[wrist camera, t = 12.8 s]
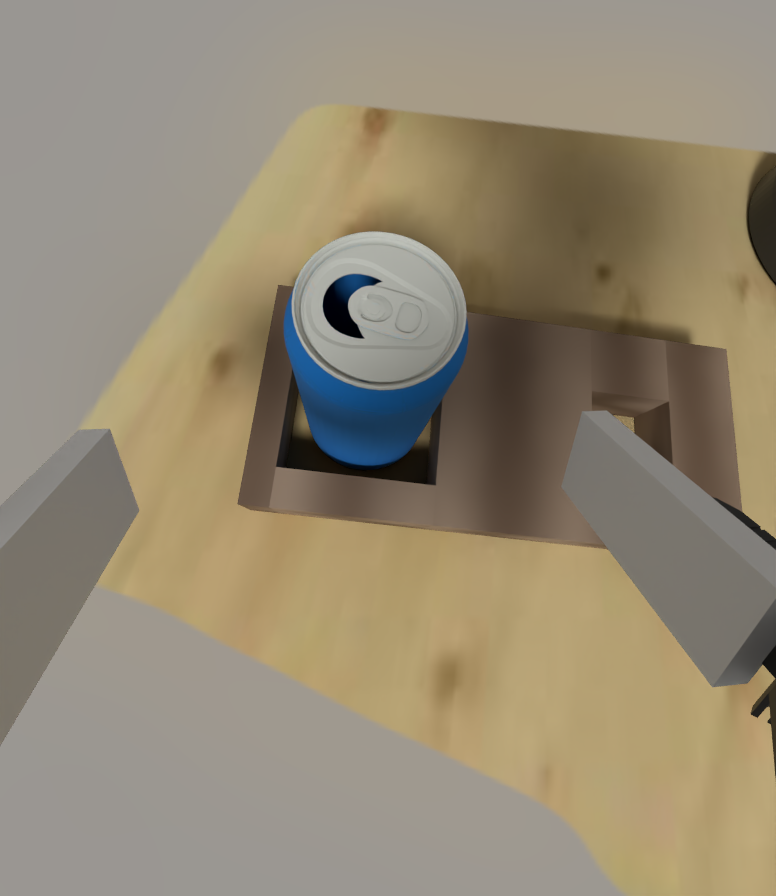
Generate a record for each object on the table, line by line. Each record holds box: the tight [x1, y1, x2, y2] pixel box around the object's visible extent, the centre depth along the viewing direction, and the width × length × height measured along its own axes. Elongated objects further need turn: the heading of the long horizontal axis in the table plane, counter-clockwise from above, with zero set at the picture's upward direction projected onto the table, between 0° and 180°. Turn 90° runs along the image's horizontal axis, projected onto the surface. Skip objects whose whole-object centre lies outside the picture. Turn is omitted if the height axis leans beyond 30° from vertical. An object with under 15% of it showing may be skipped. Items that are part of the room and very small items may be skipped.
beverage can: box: [284, 231, 469, 470], centre depth 20 cm, size 6×6×12 cm
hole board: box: [238, 285, 742, 549], centre depth 24 cm, size 26×12×3 cm, turn 84°
